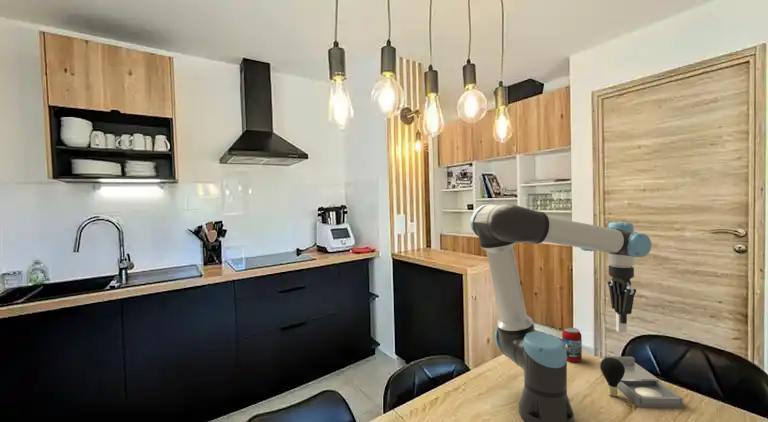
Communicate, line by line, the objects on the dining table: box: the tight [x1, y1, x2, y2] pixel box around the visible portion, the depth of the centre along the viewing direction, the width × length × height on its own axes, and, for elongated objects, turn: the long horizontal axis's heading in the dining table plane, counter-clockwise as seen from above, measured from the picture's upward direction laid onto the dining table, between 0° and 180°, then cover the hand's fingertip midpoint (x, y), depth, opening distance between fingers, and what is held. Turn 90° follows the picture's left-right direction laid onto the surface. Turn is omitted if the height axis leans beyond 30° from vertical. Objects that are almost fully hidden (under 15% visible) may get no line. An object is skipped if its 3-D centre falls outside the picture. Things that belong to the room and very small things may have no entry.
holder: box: [617, 380, 684, 409], centre depth 116 cm, size 13×18×3 cm
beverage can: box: [561, 326, 583, 363], centre depth 140 cm, size 7×7×12 cm
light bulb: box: [599, 357, 625, 397], centre depth 114 cm, size 7×7×12 cm
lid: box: [599, 355, 660, 382], centre depth 123 cm, size 13×12×3 cm
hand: (621, 331), depth 126 cm, fingers closed
